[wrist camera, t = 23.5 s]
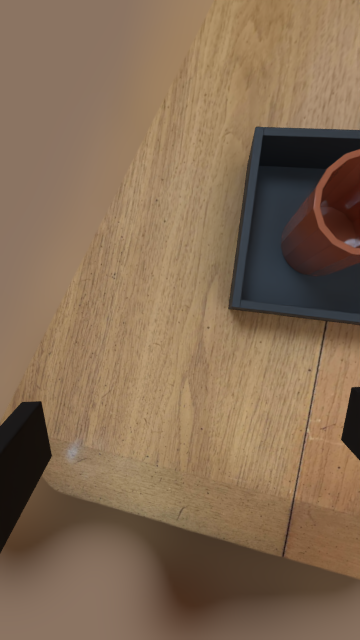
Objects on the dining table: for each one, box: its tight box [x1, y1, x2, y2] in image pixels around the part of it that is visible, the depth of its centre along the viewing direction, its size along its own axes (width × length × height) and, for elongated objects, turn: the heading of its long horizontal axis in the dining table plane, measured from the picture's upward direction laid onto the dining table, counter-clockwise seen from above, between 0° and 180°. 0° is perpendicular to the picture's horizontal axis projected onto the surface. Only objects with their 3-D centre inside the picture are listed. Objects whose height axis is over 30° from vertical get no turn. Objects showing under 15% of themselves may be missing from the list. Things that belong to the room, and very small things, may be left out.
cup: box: [281, 149, 360, 277], centre depth 24 cm, size 8×8×10 cm
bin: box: [228, 127, 360, 325], centre depth 27 cm, size 18×18×6 cm
